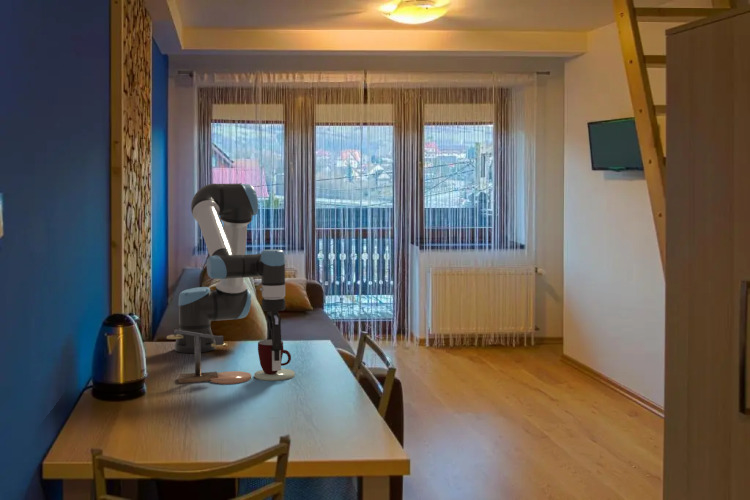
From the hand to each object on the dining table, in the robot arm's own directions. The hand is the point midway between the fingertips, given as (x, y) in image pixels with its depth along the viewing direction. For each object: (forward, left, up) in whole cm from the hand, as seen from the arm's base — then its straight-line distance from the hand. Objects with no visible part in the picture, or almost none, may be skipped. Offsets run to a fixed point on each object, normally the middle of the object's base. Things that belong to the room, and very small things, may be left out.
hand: (274, 367), depth 243 cm
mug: (0, 0, -2) cm, 2 cm away
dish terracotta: (0, -14, -3) cm, 14 cm away
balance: (-2, -24, -3) cm, 24 cm away
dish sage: (0, 0, -3) cm, 3 cm away
